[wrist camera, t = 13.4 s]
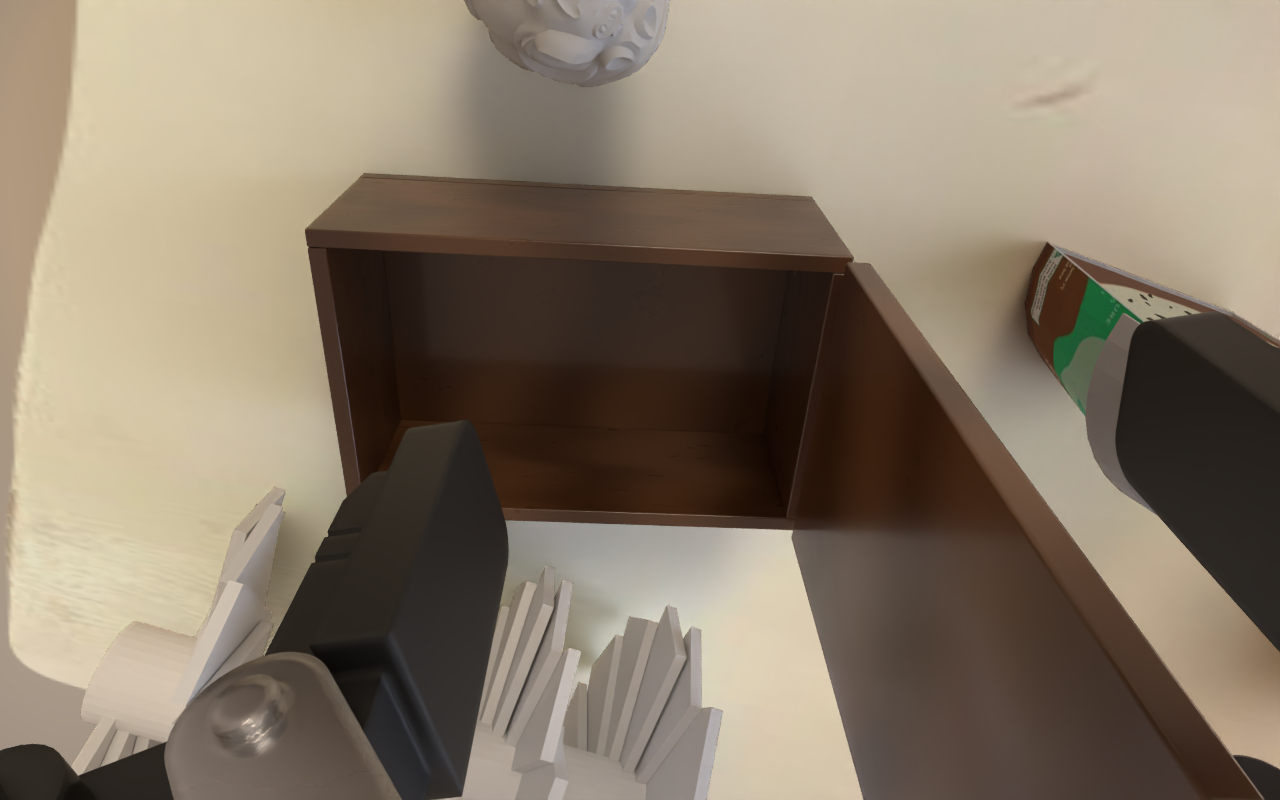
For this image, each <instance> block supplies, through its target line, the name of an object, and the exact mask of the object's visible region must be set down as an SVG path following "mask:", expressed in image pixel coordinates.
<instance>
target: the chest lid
mask: <svg viewBox="0 0 1280 800" xmlns="http://www.w3.org/2000/svg"><path fill="white" fill-rule="evenodd" d="M792 542H793V545H794V549H795V552H796V556H797V560H798V563H799V567H800V571H801V574H802V578H803V581H804V585H805V589H806V592H807V596H808V600H809V603H810V607H811V611H812V614H813V618H814V621H815V625H816V629H817V632H818V636H819V640H820V643H821V647H822V650H823V654H824V658H825V661H826V665H827V669H828V672H829V676H830V679H831V683H832V687H833V690H834V694H835V698H836V701H837V705H838V708H839V712H840V716H841V719H842V723H843V727H844V730H845V734H846V737H847V741H848V745H849V748H850V752H851V756H852V759H853V763H854V766H855V770H856V774H857V777H858V781H859V785H860V788H861V792H862V795H863V799H864V800H1280V769H1278V768H1277V767H1275V766H1273V765H1271V764H1269V763H1266V762H1264V761H1262V760H1259V759H1256V758H1252V757H1248V756H1242V755H1232V754H1231V753H1230V752H1229V750H1228V749H1227V748H1226V746H1225V745H1224V744H1223V742H1222V741H1221V739H1220V738H1219V737H1218V735H1217V734H1216V733H1215V731H1214V730H1213V729H1212V727H1211V726H1210V725H1209V723H1208V722H1207V720H1206V719H1205V718H1204V716H1203V715H1202V714H1201V712H1200V711H1199V710H1198V708H1197V707H1196V705H1195V704H1194V703H1193V701H1192V700H1191V699H1190V697H1189V696H1188V695H1187V693H1186V692H1185V691H1184V689H1183V688H1182V686H1181V685H1180V684H1179V682H1178V681H1177V680H1176V678H1175V677H1174V676H1173V674H1172V673H1171V672H1170V670H1169V669H1168V667H1167V666H1166V665H1165V663H1164V662H1163V661H1162V659H1161V658H1160V657H1159V655H1158V654H1157V653H1156V651H1155V650H1154V648H1153V647H1152V646H1151V644H1150V643H1149V642H1148V640H1147V639H1146V638H1145V636H1144V635H1143V634H1142V632H1141V631H1140V629H1139V628H1138V627H1137V625H1136V624H1135V623H1134V621H1133V620H1132V619H1131V617H1130V616H1129V615H1128V613H1127V612H1126V610H1125V609H1124V608H1123V606H1122V605H1121V604H1120V602H1119V601H1118V600H1117V598H1116V597H1115V595H1114V594H1113V593H1112V591H1111V590H1110V589H1109V587H1108V586H1107V585H1106V583H1105V582H1104V581H1103V579H1102V578H1101V576H1100V575H1099V574H1098V572H1097V571H1096V570H1095V568H1094V567H1093V566H1092V564H1091V563H1090V562H1089V560H1088V559H1087V557H1086V556H1085V555H1084V553H1083V552H1082V551H1081V549H1080V548H1079V547H1078V545H1077V544H1076V543H1075V541H1074V540H1073V538H1072V537H1071V536H1070V534H1069V533H1068V532H1067V530H1066V529H1065V528H1064V526H1063V525H1062V524H1061V522H1060V521H1059V519H1058V518H1057V517H1056V515H1055V514H1054V513H1053V511H1052V510H1051V509H1050V507H1049V506H1048V504H1047V503H1046V502H1045V500H1044V499H1043V498H1042V496H1041V495H1040V494H1039V492H1038V491H1037V490H1036V488H1035V487H1034V485H1033V484H1032V483H1031V481H1030V480H1029V479H1028V477H1027V476H1026V475H1025V473H1024V472H1023V471H1022V469H1021V468H1020V466H1019V465H1018V464H1017V462H1016V461H1015V460H1014V458H1013V457H1012V456H1011V454H1010V453H1009V452H1008V450H1007V449H1006V447H1005V446H1004V445H1003V443H1002V442H1001V441H1000V439H999V438H998V437H997V435H996V434H995V433H994V431H993V430H992V428H991V427H990V426H989V424H988V423H987V422H986V420H985V419H984V418H983V416H982V415H981V414H980V412H979V411H978V409H977V408H976V407H975V405H974V404H973V403H972V401H971V400H970V399H969V397H968V396H967V394H966V393H965V392H964V390H963V389H962V388H961V386H960V385H959V384H958V382H957V381H956V380H955V378H954V377H953V375H952V374H951V373H950V371H949V370H948V369H947V367H946V366H945V365H944V363H943V362H942V361H941V359H940V358H939V356H938V355H937V354H936V352H935V351H934V350H933V348H932V347H931V346H930V344H929V343H928V342H927V340H926V339H925V337H924V336H923V335H922V333H921V332H920V331H919V329H918V328H917V327H916V325H915V324H914V323H913V321H912V320H911V318H910V317H909V316H908V314H907V313H906V312H905V310H904V309H903V308H902V306H901V305H900V304H899V302H898V301H897V299H896V298H895V297H894V295H893V294H892V293H891V291H890V290H889V289H888V287H887V286H886V284H885V283H884V282H883V280H882V279H881V278H880V276H879V275H878V274H877V272H876V271H875V270H874V268H873V267H872V265H871V264H869V263H853V262H849V263H847V264H846V267H845V272H844V277H843V282H842V287H841V292H840V297H839V302H838V307H837V312H836V317H835V322H834V327H833V332H832V337H831V342H830V347H829V352H828V357H827V362H826V367H825V372H824V377H823V382H822V387H821V392H820V397H819V402H818V407H817V412H816V417H815V423H814V428H813V433H812V438H811V443H810V448H809V453H808V458H807V463H806V468H805V473H804V478H803V483H802V488H801V493H800V498H799V503H798V508H797V513H796V518H795V523H794V528H793V533H792Z"/></svg>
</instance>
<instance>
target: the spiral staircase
mask: <svg viewBox="0 0 1280 800" xmlns="http://www.w3.org/2000/svg"><path fill="white" fill-rule="evenodd" d="M285 493H286V490H284V489H281V488H278V487H274V488H273V489H272V490H271V491H270V492H269V493H268V494H267V495H266V496H265V497H264V498H263V499H262V500H261V501H260V503H259V504H256V506H255V508H254V509H253V510H252V511H251V512H250V513H249V514H248V515H247V516H246V517H245V518H244V519H243V520H242V521H241V522H240V524H239V525H238V526H237V527H236V528H235V529H234V530H233V534H232V538H231V541H230V545H229V548H228V552H227V555H226V559H225V562H224V566H223V569H222V573H221V576H220V580H219V583H218V587H217V590H216V594H215V597H214V601H213V604H212V607H211V609H210V611H209V613H208V616H207V617H206V619H205V621H204V622H203V624H202V626H201V628H200V629H199V630H198V631H197V632H196V634H195V635H194V636H193V637H190V636H187V635H183V634H180V633H177V632H173V631H170V630H166V629H163V628H159V627H156V626H152V625H149V624H145V623H142V622H138V621H135V622H132V623H131V624H129V625H128V626H127V627H125V628H124V629H123V630H122V631H121V633H120V634H119V635H118V636H117V637H116V638H115V640H114V641H113V642H112V644H111V645H110V647H109V648H108V650H107V651H106V653H105V654H104V656H103V658H102V659H101V661H100V663H99V664H98V666H97V668H96V670H95V672H94V674H93V676H92V678H91V681H90V683H89V685H88V688H87V690H86V693H85V696H84V700H83V703H82V709H81V718H82V720H83V721H84V722H87V723H91V724H94V725H97V726H96V727H95V729H94V731H93V732H92V734H91V736H90V737H89V739H88V740H87V742H86V744H85V745H84V747H83V748H82V750H81V752H80V753H79V755H78V756H77V758H76V760H75V761H74V763H73V764H72V766H71V768H72V769H73V770H74V771H75V772H76V774H77V775H81V774H84V773H86V772H89V771H91V770H94V769H97V768H99V767H102V766H104V765H107V764H110V763H112V762H115V761H117V760H120V759H123V758H125V757H128V756H130V755H133V754H136V753H138V752H141V751H144V750H146V749H149V748H151V747H154V746H157V745H159V744H162V743H164V742H167V740H168V737H169V734H170V732H171V730H172V728H173V726H174V725H175V723H176V721H177V720H178V718H179V717H180V715H181V714H182V713H183V711H184V710H185V709H186V707H187V706H188V705H189V704H190V703H191V702H192V701H193V700H194V698H195V697H197V696H198V695H199V694H200V693H201V692H202V691H203V690H204V689H205V688H206V687H208V686H209V685H210V684H212V683H213V682H214V681H216V680H217V679H218V678H220V677H221V676H223V675H224V674H226V673H228V672H229V671H231V670H232V669H234V668H236V667H238V666H240V665H242V664H244V663H246V662H249V661H251V660H254V659H257V658H259V657H262V655H263V652H264V650H265V647H266V644H267V641H268V638H269V635H270V633H271V630H272V627H273V624H272V623H269V620H270V618H271V616H272V613H271V612H270V611H269V610H268V609H267V608H266V607H265V603H266V598H267V592H268V587H269V581H270V576H271V570H272V565H273V559H274V554H275V549H276V543H277V538H278V532H279V527H280V525H281V523H282V520H283V518H284V516H285V513H286V512H283V511H282V510H283V507H281V506H282V503H283V499H284V496H285ZM536 585H537V584H535V583H531V582H528V581H526V582H525V583H523V584H521V585H519V586H518V587H516V591H515V594H514V597H513V600H512V603H511V606H510V607H507V606H504V605H502V607H501V609H500V612H499V614H498V616H497V621H496V627H495V632H494V637H493V642H492V647H491V652H490V657H489V662H488V667H487V672H486V677H485V682H484V688H483V693H482V698H481V703H480V708H479V713H478V718H477V723H476V728H475V733H474V738H473V744H472V749H471V754H470V759H469V764H468V769H467V774H466V779H465V784H464V789H463V794H462V797H454V798H445V799H436V800H707V795H708V789H709V784H710V778H711V773H712V768H713V762H714V757H715V751H716V746H717V740H718V735H719V729H720V724H721V718H722V713H723V711H722V710H719V709H716V708H713V707H709V708H702V684H701V630H700V629H697V628H694V627H691V628H690V629H689V631H688V632H687V634H686V635H685V637H684V638H682V633H681V628H680V623H679V618H678V613H677V609H676V608H674V607H671V606H668V605H667V606H666V609H665V611H664V613H663V615H662V617H661V620H660V622H659V624H658V623H657V622H653V621H650V620H646V619H641V618H635V617H630V616H629V619H628V623H627V626H626V629H625V633H624V636H620V635H615V637H614V638H613V639H612V641H611V642H610V643H609V645H608V646H607V647H606V649H605V650H604V651H603V653H602V654H601V655H600V657H599V658H598V659H597V661H596V662H595V663H594V665H593V666H592V670H591V675H590V680H589V686H588V691H587V684H584V683H581V682H578V685H577V687H576V689H575V692H574V694H573V696H572V699H571V701H570V703H569V706H568V708H567V705H568V701H569V698H570V694H571V690H572V686H573V682H574V678H575V674H576V670H577V666H578V662H579V658H580V654H581V651H578V650H575V649H572V648H569V649H567V650H566V651H565V652H564V653H563V647H564V641H565V634H566V627H567V620H568V614H569V607H570V600H571V594H572V587H573V583H572V582H569V581H566V580H562V582H561V584H560V586H559V588H558V591H557V593H556V595H555V597H554V585H555V568H553V567H550V566H547V565H545V567H544V569H543V572H542V574H541V577H540V580H539V582H538V585H537V587H536ZM535 588H536V590H535ZM534 591H535V592H534ZM657 625H658V626H657ZM566 709H567V710H566Z"/></svg>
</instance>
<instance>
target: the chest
mask: <svg viewBox="0 0 1280 800" xmlns="http://www.w3.org/2000/svg"><path fill="white" fill-rule="evenodd" d="M305 234H306V241H307V246H308V253H309V260H310V266H311V272H312V279H313V285H314V291H315V298H316V304H317V310H318V316H319V323H320V329H321V335H322V342H323V348H324V354H325V361H326V367H327V373H328V379H329V386H330V392H331V398H332V405H333V411H334V417H335V424H336V430H337V436H338V443H339V449H340V455H341V461H342V468H343V474H344V480H345V487H346V493H347V497H348V496H349V495H350V494H351V493H352V492H353V491H354V490H355V489H356V488H357V487H358V486H359V485H360V484H361V483H362V482H363V481H364V480H365V479H366V478H367V477H368V476H369V475H370V474H372V473H375V472H382V471H388V469H389V467H390V465H391V463H392V461H393V458H394V456H395V454H396V452H397V449H398V447H399V445H400V443H401V441H402V438H403V436H404V434H405V432H406V431H407V430H408V429H409V428H413V427H420V426H427V425H434V424H440V423H447V422H454V421H461V420H469V421H470V422H471V423H472V424H473V426H474V427H475V429H476V431H477V434H478V437H479V440H480V443H481V446H482V449H483V452H484V455H485V458H486V461H487V465H488V468H489V471H490V474H491V477H492V480H493V483H494V486H495V490H496V493H497V496H498V499H499V502H500V505H501V508H502V511H503V515H504V518H505V520H514V521H543V522H572V523H602V524H631V525H660V526H689V527H718V528H748V529H777V530H793V528H794V523H795V518H796V513H797V508H798V503H799V498H800V493H801V488H802V483H803V478H804V473H805V468H806V463H807V458H808V453H809V448H810V443H811V438H812V433H813V428H814V423H815V417H816V412H817V407H818V402H819V397H820V392H821V387H822V382H823V377H824V372H825V367H826V362H827V357H828V352H829V347H830V342H831V337H832V332H833V327H834V322H835V317H836V312H837V307H838V302H839V297H840V292H841V287H842V282H843V277H844V272H845V267H846V264H847V263H849V262H853V259H854V257H853V255H852V254H851V252H850V251H849V250H848V248H847V247H846V245H845V244H844V242H843V241H842V240H841V238H840V237H839V235H838V234H837V232H836V231H835V230H834V228H833V227H832V225H831V224H830V222H829V221H828V220H827V218H826V217H825V215H824V214H823V212H822V211H821V210H820V208H819V207H818V205H817V204H816V202H815V201H814V199H813V198H812V197H803V196H784V195H765V194H746V193H727V192H709V191H690V190H671V189H652V188H633V187H615V186H596V185H577V184H558V183H539V182H521V181H502V180H483V179H464V178H445V177H427V176H408V175H389V174H370V173H364V174H363V175H362V176H361V177H360V178H359V179H358V180H357V181H356V182H355V183H354V184H353V185H351V186H350V187H349V188H348V189H347V190H346V191H345V192H344V193H343V194H342V195H341V196H340V197H339V198H338V199H337V200H336V201H335V202H333V203H332V204H331V205H330V206H329V207H328V208H327V209H326V210H325V211H324V212H323V213H322V214H321V215H320V216H319V217H318V218H317V219H315V220H314V221H313V222H312V223H311V224H310V225H309V226H308V227H307V228H306V229H305Z"/></svg>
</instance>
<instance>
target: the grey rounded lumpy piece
mask: <svg viewBox="0 0 1280 800" xmlns="http://www.w3.org/2000/svg"><path fill="white" fill-rule="evenodd" d="M464 1H465V3H466V5H467V7H468V9H469V11H470V13H471V14H472V15H473V16H474V17H475V18H477V19H478V20H481V21H483V23H484V24H485V25H486V26H487V27H488V28H489V35H490V38H491V41H492V42H493V44H494V45H495V46H496V48H497V49H498V50H499V51H500V52H501V53H502V54H503V55H504V56H505V57H506V58H508V59H509V60H510V61H512V62H513V63H515V64H516V65H518V66H520V67H521V68H523V69H526V70H529V71H533V72H537V73H539V74H541V75H543V76H545V77H548V78H550V79H553V80H555V81H559V82H564V83H571V84H576V85H578V86H581V87H592V86H598V85H602V84H606V83H609V82H614V81H616V80H619V79H622V78H624V77H627V76H629V75H631V74H633V73H635V72H636V71H638V70H639V69H640V68H641V67H642V66H643V65H645V64H646V63H647V62H648V60H649V59H650V57H651V56H652V54H653V53H654V52H655V51H656V50H657V48H658V46H659V44H660V42H661V40H662V38H663V35H664V31H665V28H666V22H667V16H668V10H669V1H670V0H464Z"/></svg>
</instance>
